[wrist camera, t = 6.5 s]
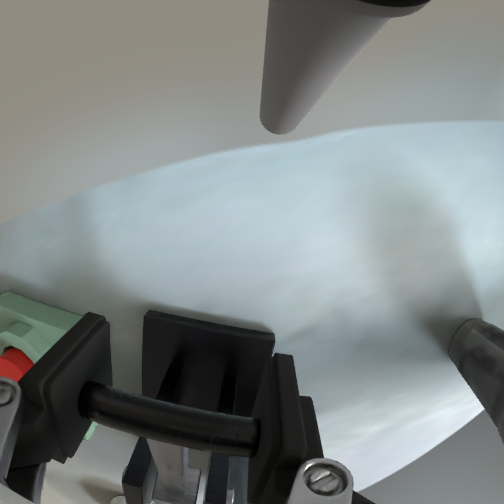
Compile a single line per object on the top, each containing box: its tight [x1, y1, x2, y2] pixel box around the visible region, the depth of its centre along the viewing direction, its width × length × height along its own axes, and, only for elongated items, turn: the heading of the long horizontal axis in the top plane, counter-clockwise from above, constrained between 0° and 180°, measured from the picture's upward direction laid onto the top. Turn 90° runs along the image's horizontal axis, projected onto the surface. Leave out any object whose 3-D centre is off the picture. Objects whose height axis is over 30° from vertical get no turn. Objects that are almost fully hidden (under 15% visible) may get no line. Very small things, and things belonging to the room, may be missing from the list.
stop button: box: [0, 348, 34, 382], centre depth 17 cm, size 4×4×2 cm
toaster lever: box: [78, 381, 261, 504], centre depth 10 cm, size 12×5×2 cm, turn 169°
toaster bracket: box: [122, 310, 275, 504], centre depth 17 cm, size 12×9×12 cm
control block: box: [0, 291, 98, 441], centre depth 20 cm, size 12×9×4 cm
